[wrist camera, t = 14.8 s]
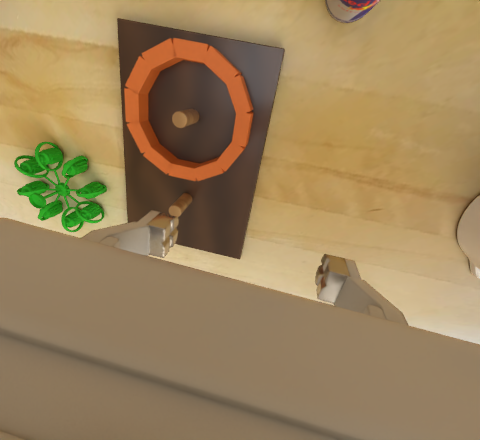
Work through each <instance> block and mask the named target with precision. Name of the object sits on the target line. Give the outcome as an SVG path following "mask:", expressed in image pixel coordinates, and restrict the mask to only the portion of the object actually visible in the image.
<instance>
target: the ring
mask: <svg viewBox="0 0 480 440" xmlns="http://www.w3.org/2000/svg"><path fill="white" fill-rule="evenodd" d="M182 60H187V61H192V62H197V63H202V64H205V65H206V66H207V67H208V68H209V69H211V70H212V71H213V72H214V73H215V74H216V75H217V76H218V77H219V78H220V79H221V80H222V81H223V82H224V83H225V84H226V85H227V88H228V91H229V94H230V97H231V100H232V103H233V106H234V109H235V112H236V118H235V124H234V131H233V137H232V142H231V143H230V144H229V146H228V147H227V148H226V149H225V151H224V152H223V153H222V154H221V156H220V157H218V158H215V159H212V160H209V161H206V162H203V163H201V164H199V163H194V162H190V161H185V160H181V159H178V158H176V157H175V156H174V155H173V154H172V153H170V152H169V151H168V150H167V149H166V148H164V147H163V146H162V145H161V144H160V143H159V141H158V139H157V137H156V135H155V133H154V131H153V129H152V126H151V124H150V122H149V120H148V93H149V91H150V89H151V88H152V86H153V84H154V82H155V80H156V79H157V77H158V75H159V73H160V71H162V70H164V69H166V68H168V67H170V66H172V65H174V64H176V63H178V62H180V61H182ZM125 86H126V87H128V88H124V92H125V114H126V122H129V124H127V126H128V128H129V130H130V132H131V134H132V136H133V138H134V140H135V142H136V144H137V146H138V148H139V150H140V152H141V153H144V152H145V153H144V155H143V156H144V157H146V158H147V159H148V160H149V161H150V162H152V163H153V164H154V165H155V166H157V167H158V168H159V169H160V170H162V171H163V172H164V173H165V174H167V173H169V176H174V177H178V178H183V179H187V180H192V181H196V180H197V181H200V180H204V179H207V178H210V177H213V176H216V175H219V174H222V173H224V172H225V171H227V169H228V168H229V167H230V166H231V165H232V163H233V162H234V161H235V160H236V159H237V158H238V156H239V155H240V154H241V153H242V152H243V150H244V149H245V148H246V146H247V144H248V141H249V135H250V130H251V124H252V119H253V112H250V111H252V110H253V106H252V103H251V100H250V96H249V93H248V90H247V87H246V83H245V80H244V77H243V76H241V72H240V71H239V70H238V69H237V68H236V67H234V66H233V65H232V64H231V63H230V62H229V61H228V60H227V59H226V58H225V57H224V56H223V55H222V54H221V53H220V52H219V51H218V50H217V49H215V48H214V47H212V46H210V45H208V44H205V43H200V42H194V41H189V40H184V39H178V38H173V39H171V38H170V39H168V40H166V41H164V42H162V43H160V44H158V45H156V46H154V47H153V48H151V49H149V50H147V51H145V52H143V53H142V56H139V58H138V60H137V62H136V64H135V66H134V68H133V70H132V72H131V74H130V76H129V78H128V80H127V82H126V84H125Z"/></svg>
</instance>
